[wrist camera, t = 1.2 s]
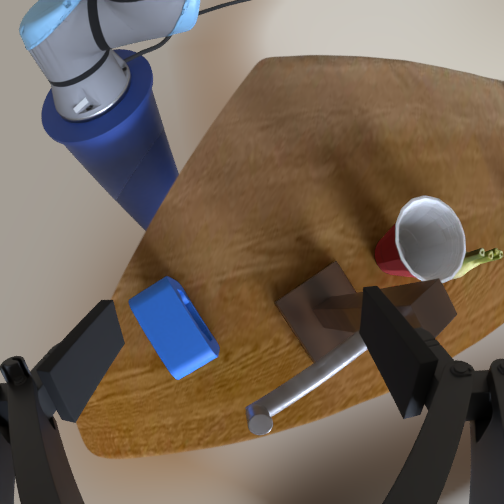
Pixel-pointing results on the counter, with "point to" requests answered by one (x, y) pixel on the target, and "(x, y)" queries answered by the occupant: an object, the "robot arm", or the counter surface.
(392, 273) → the plastic cup
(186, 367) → the blue rounded square frame
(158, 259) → the counter surface
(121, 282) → the counter surface
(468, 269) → the fennel bulb
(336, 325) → the hook stand
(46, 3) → the robot arm
